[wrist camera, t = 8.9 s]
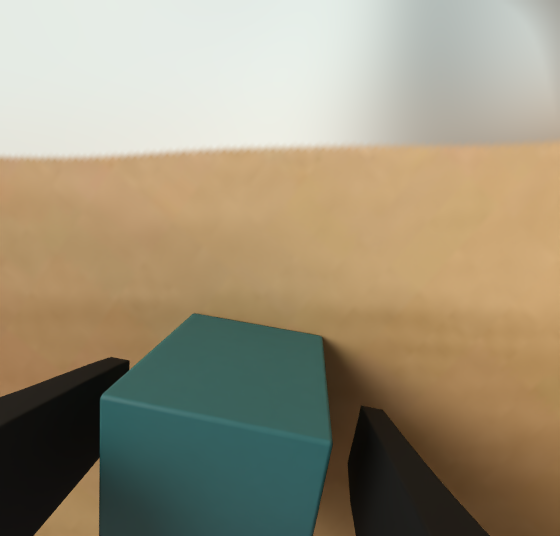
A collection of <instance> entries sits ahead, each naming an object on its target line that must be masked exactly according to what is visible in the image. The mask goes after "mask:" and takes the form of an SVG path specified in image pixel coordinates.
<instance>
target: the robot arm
mask: <svg viewBox="0 0 560 536" xmlns="http://www.w3.org/2000/svg"><path fill="white" fill-rule="evenodd" d="M128 371H129V360H123V359H118V358H113V357H110V358H107V359H103V360H100V361H97V362H94V363H92V364H89V365H86V366H83V367H81V368H78V369H75V370H73V371H70V372H67V373H65V374H62V375H60V376H57V377H54V378H52V379H49V380H46V381H44V382H41V383H38V384H36V385H33V386H30V387H28V388H25V389H22V390H19V391H17V392H14V393H11V394H8V395H5V396H2V397H0V536H34V534H35V533H36V532H37V531H38V530H39V529H40V527H41V526H42V525H43V524H44V523H45V521H46V520H47V519H48V518H49V517H50V516H51V514H52V513H53V512H54V511H55V510H56V508H57V507H58V506H59V505H60V504H61V503H62V501H63V500H64V499H65V498H66V497H67V495H68V494H69V493H70V492H71V491H72V490H73V488H74V487H75V486H76V485H77V484H78V483H79V481H80V480H81V479H82V478H83V477H84V475H85V474H86V473H87V472H88V471H89V469H90V468H91V467H92V466H93V465H94V463H95V462H96V461H97V460H98V459H99V457H100V398H101V396H102V394H103V393H104V392H105V391H106V390H108V389H109V388H110V387H111V386H112V385H113V384H114V383H115V382H117V381H118V380H119V379H120V378H121V377H122V376H123V375H125V374H126V373H127V372H128ZM348 475H349V490H350V502H351V509H352V515H353V521H354V527H355V533H356V536H490V535H489V534H488V533H487V532H486V531H485V530H484V529H483V528H482V527H481V526H480V525H479V524H478V523H477V521H476V520H475V519H474V518H473V517H472V516H471V515H470V514H469V513H468V511H467V510H466V509H465V508H464V507H463V506H462V505H461V504H460V503H459V502H458V500H457V499H456V498H455V497H454V496H453V495H452V494H451V493H450V491H449V490H448V489H447V488H446V487H445V486H444V485H443V483H442V482H441V481H440V480H439V479H438V478H437V476H436V475H435V474H434V473H433V472H432V470H431V469H430V468H429V467H428V466H427V464H426V463H425V462H424V461H423V460H422V458H421V457H420V456H419V455H418V453H417V452H416V451H415V450H414V449H413V447H412V446H411V445H410V444H409V442H408V441H407V440H406V439H405V437H404V436H403V435H402V434H401V432H400V431H399V430H398V428H397V427H396V426H395V425H394V423H393V422H392V421H391V420H390V418H389V417H388V416H387V415H386V414H385V412H384V411H383V410H381V409H376V408H371V407H366V406H361V409H360V413H359V417H358V421H357V426H356V430H355V434H354V438H353V443H352V447H351V451H350V455H349V460H348Z"/></svg>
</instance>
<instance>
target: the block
mask: <svg viewBox="0 0 560 536" xmlns="http://www.w3.org/2000/svg"><path fill="white" fill-rule="evenodd" d="M332 446H333V441H332V430H331V420H330V410H329V400H328V389H327V379H326V369H325V359H324V348H323V339H322V337H321V336H318V335H313V334H307V333H302V332H296V331H290V330H285V329H279V328H274V327H268V326H262V325H257V324H251V323H246V322H240V321H234V320H229V319H223V318H218V317H212V316H206V315H201V314H192V315H191V316H190V317H189V318H188V319H187V320H185V321H184V322H183V323H182V324H181V325H180V326H179V327H178V328H176V329H175V330H174V331H173V332H172V333H171V334H170V335H169V336H167V337H166V338H165V339H164V340H163V341H162V342H161V343H159V344H158V345H157V346H156V347H155V348H154V349H153V350H152V351H150V352H149V353H148V354H147V355H146V356H145V357H144V358H143V359H141V360H140V361H139V362H138V363H137V364H136V365H135V366H134V367H132V368H131V369H130V370H129V371H128V372H127V373H126V374H125V375H123V376H122V377H121V378H120V379H119V380H118V381H117V382H115V383H114V384H113V385H112V386H111V387H110V388H109V389H108V390H106V391H105V392H104V393H103V394H102V396H101V398H100V497H99V536H313V533H314V528H315V524H316V519H317V515H318V510H319V505H320V501H321V496H322V492H323V487H324V482H325V478H326V473H327V469H328V464H329V460H330V455H331V450H332Z"/></svg>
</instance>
